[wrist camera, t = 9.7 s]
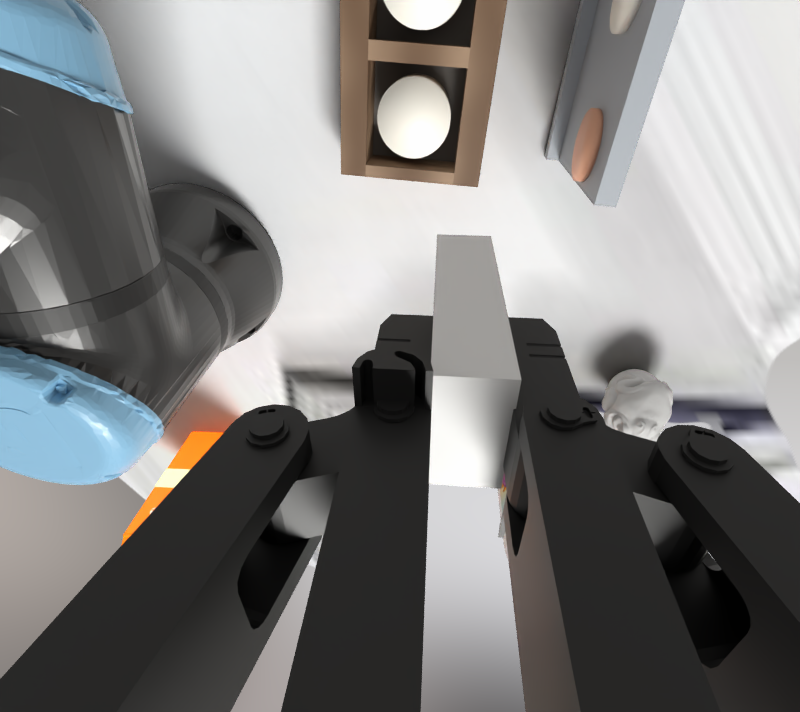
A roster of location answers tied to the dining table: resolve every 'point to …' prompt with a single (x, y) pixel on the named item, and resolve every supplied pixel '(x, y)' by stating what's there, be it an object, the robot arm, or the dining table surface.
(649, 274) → the dining table surface
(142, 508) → the orange juice
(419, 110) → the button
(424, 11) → the middle button
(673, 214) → the dining table surface
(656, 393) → the white rounded lump
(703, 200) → the dining table surface
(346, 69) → the button board
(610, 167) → the pattern panel
